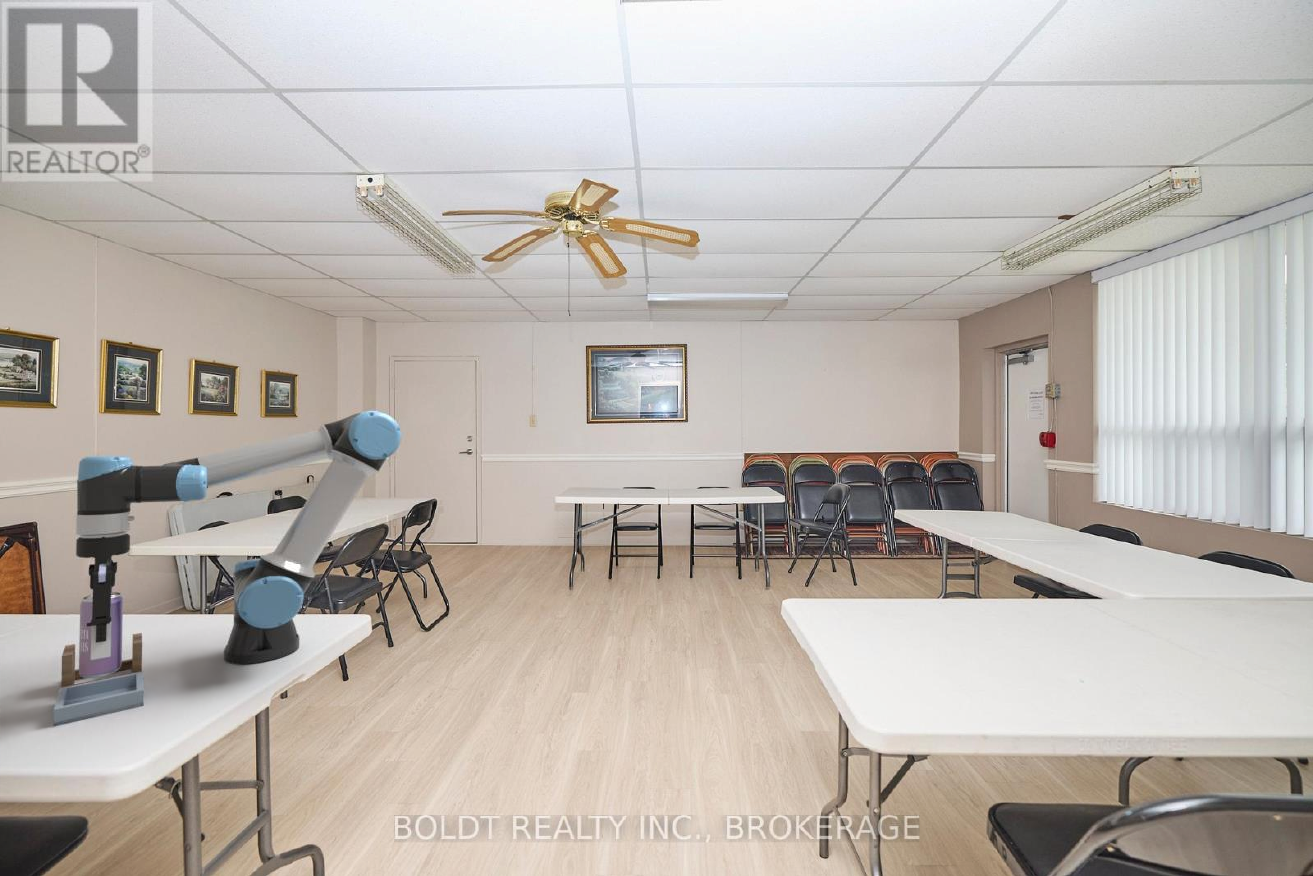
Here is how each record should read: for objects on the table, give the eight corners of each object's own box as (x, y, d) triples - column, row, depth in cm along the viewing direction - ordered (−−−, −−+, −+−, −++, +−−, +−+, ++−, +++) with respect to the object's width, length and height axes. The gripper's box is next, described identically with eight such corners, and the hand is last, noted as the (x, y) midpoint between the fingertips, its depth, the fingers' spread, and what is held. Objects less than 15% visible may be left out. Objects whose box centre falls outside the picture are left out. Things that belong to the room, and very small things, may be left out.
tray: (143, 705, 110) (143, 690, 110) (53, 726, 102) (53, 709, 102) (142, 685, 119) (142, 671, 119) (59, 703, 110) (59, 688, 110)
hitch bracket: (141, 681, 120) (142, 644, 121) (60, 699, 112) (61, 658, 112) (141, 666, 129) (141, 631, 129) (65, 681, 121) (65, 643, 121)
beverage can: (128, 669, 112) (130, 593, 112) (90, 681, 106) (92, 601, 106) (109, 665, 114) (111, 590, 114) (71, 676, 108) (73, 598, 108)
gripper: (130, 539, 106) (127, 662, 106) (130, 527, 120) (127, 636, 120) (72, 543, 101) (70, 672, 101) (79, 530, 115) (77, 644, 114)
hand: (101, 652), depth 110 cm, fingers closed on beverage can, 6 cm apart
